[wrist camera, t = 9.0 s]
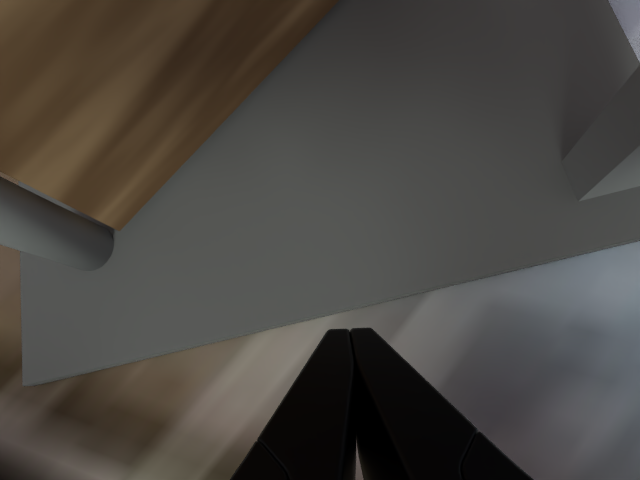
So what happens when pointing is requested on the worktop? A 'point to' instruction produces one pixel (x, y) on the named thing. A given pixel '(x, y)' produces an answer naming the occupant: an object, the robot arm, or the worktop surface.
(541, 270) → the worktop surface
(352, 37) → the grey base plate
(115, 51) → the gate leaf
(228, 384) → the worktop surface
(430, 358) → the worktop surface
